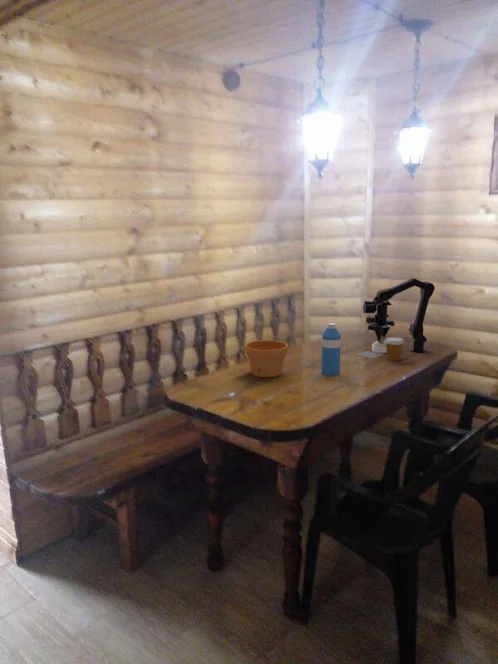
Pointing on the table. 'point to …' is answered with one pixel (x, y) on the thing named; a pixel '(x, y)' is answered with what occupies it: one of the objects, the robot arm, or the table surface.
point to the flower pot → (266, 357)
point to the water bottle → (331, 351)
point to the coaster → (370, 354)
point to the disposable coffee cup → (394, 348)
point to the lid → (380, 343)
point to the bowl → (379, 349)
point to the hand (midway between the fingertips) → (380, 340)
